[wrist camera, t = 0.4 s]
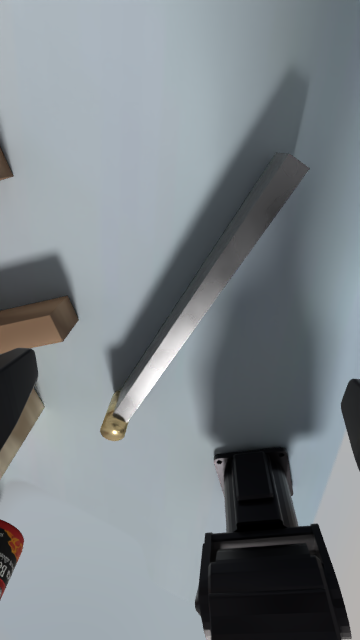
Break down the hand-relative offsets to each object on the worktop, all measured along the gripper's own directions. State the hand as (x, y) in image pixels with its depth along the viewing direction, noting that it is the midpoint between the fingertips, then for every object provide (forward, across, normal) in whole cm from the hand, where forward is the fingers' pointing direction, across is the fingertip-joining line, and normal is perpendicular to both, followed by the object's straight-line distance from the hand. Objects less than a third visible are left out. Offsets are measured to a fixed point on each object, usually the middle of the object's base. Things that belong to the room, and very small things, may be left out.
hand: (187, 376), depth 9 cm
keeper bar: (+13, +1, +4) cm, 13 cm away
